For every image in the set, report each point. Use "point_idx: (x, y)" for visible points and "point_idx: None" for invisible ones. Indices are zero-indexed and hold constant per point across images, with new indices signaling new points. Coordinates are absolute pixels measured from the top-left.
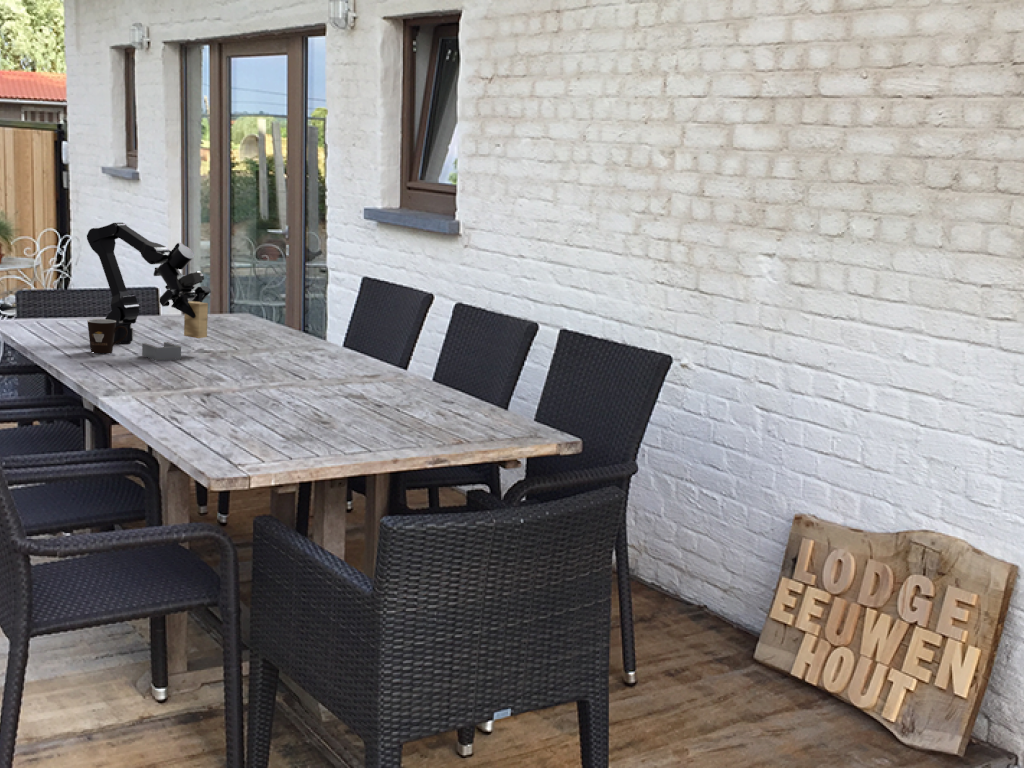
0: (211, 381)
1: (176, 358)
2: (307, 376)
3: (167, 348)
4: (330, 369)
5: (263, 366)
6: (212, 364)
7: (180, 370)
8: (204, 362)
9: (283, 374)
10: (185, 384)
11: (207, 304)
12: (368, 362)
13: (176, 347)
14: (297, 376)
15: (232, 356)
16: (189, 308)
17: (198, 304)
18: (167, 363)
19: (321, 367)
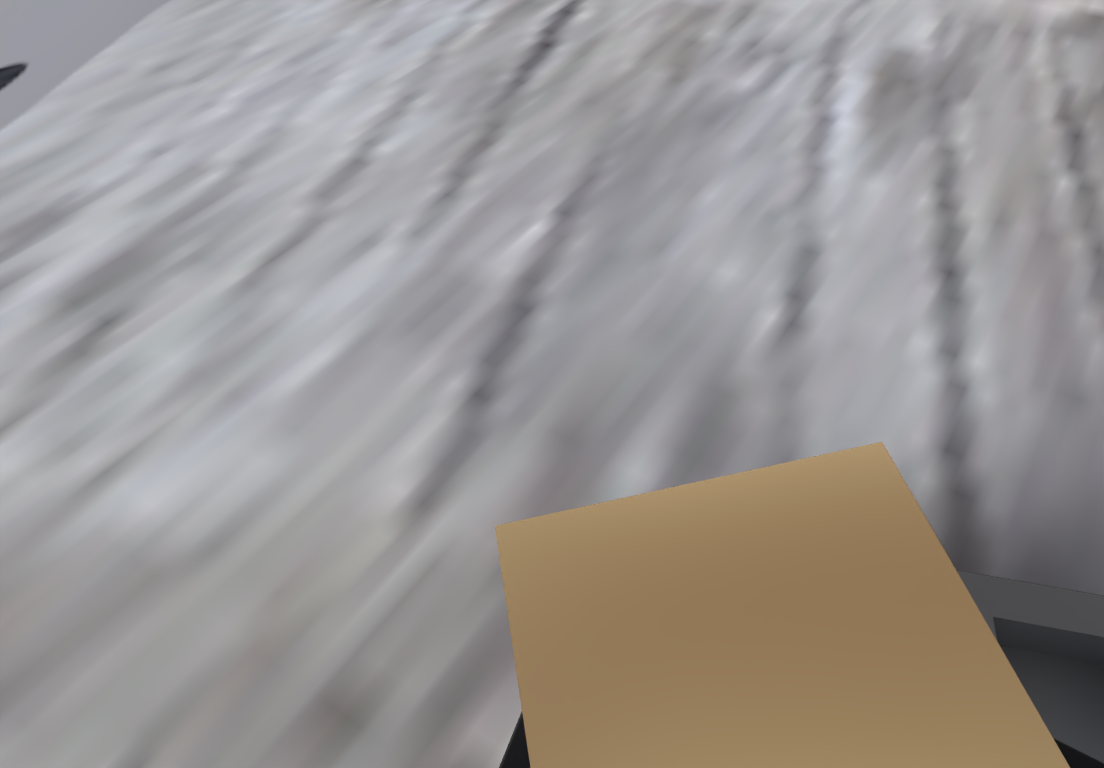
0: (951, 65)
1: None
2: (523, 25)
3: (1100, 599)
4: (331, 73)
5: (519, 198)
6: (744, 336)
7: (1025, 273)
8: (759, 409)
9: (576, 67)
10: (1092, 59)
11: (521, 529)
12: (60, 112)
13: (994, 579)
14: (556, 34)
15: (428, 509)
16: (1075, 751)
17: (896, 484)
18: (1054, 495)
19: (319, 105)
